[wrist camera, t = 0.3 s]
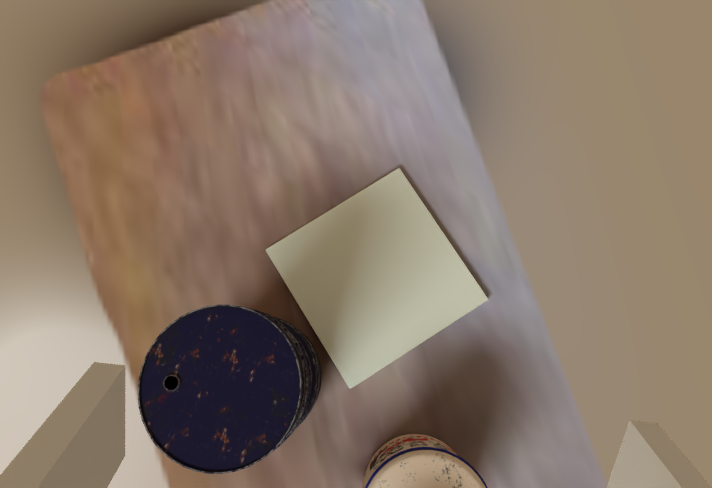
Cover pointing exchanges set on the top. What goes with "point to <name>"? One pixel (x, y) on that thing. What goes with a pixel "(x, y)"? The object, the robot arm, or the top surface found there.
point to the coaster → (375, 277)
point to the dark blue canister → (226, 387)
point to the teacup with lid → (419, 465)
